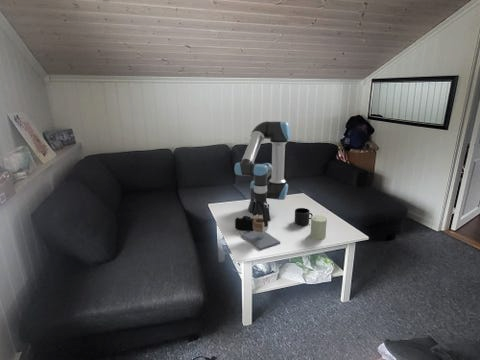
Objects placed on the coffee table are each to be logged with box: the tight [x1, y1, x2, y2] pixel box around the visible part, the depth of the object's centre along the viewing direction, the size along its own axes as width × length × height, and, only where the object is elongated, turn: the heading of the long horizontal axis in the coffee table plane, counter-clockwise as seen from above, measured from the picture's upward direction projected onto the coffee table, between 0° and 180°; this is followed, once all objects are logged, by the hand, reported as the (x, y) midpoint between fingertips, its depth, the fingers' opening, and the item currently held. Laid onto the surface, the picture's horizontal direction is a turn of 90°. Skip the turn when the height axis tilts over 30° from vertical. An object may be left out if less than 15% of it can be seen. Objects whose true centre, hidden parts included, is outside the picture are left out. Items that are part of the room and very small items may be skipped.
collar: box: [253, 217, 269, 232], centre depth 172 cm, size 8×8×5 cm
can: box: [309, 214, 328, 240], centre depth 177 cm, size 9×9×12 cm
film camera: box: [234, 215, 254, 232], centre depth 189 cm, size 15×10×9 cm, turn 72°
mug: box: [294, 207, 314, 227], centre depth 194 cm, size 9×12×9 cm
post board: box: [241, 222, 281, 251], centre depth 174 cm, size 20×14×11 cm
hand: (260, 228), depth 173 cm, fingers closed on collar, 8 cm apart
